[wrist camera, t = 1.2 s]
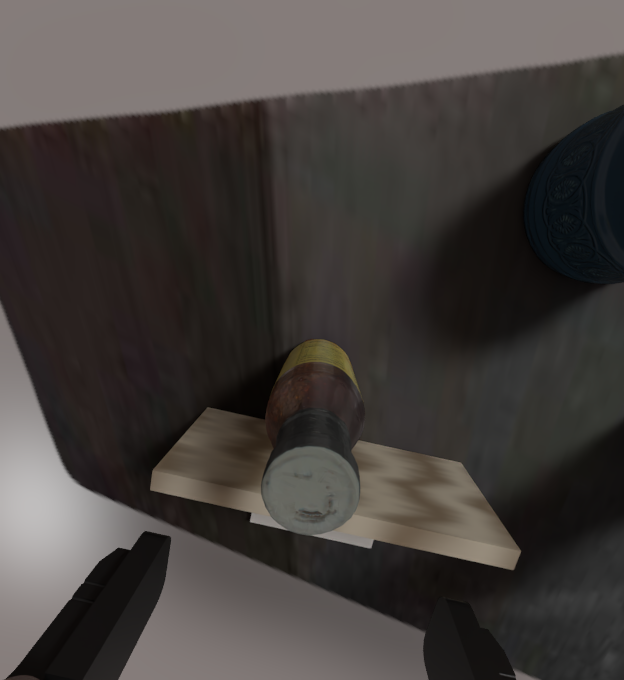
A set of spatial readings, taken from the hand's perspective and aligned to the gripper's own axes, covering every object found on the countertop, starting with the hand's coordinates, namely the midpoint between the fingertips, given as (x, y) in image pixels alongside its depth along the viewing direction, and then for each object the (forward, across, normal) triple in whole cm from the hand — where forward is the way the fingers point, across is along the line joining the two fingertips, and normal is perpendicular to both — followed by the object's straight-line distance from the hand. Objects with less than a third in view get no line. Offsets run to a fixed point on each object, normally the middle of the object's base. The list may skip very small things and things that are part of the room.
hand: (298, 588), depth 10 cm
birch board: (+24, -3, +8) cm, 25 cm away
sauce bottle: (+24, 0, 0) cm, 24 cm away
